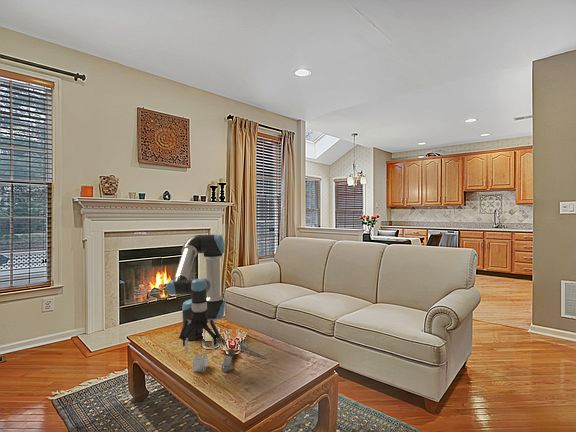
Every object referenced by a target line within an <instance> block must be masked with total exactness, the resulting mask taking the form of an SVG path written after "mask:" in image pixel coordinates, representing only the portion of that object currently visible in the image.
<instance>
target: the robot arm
mask: <svg viewBox="0 0 576 432" xmlns="http://www.w3.org/2000/svg"><path fill="white" fill-rule="evenodd" d="M225 248H226V247H225V241H224V237H223V236H222V234H196V235H193V236H191V237H190V238H189V239H188V240H186V241H185V243H184V244H183V246H182V248H181V257H180V259H179V262H178V265H177V269H176V271H175V274H174V278H173V279H171V280H168V282H167V284H166V292H167V294H168V295H169V296H171V295H173V296H176V295H177V296H179V295H180V296H181V295H191V298H190V299H188V300H187V299H186V300H185V301H184V302H183V303H182V309H181V310H182V312H181V313H182V326H181V330H180V333H179V336H178V337H179V338H178V339H180V340H182V346H183V347H184V354H187V353H188V352H189V344H188V343H189V341H196V340H197V341H198V340H200V339H203V337H202V333H203V329H204V331H206V332H207V334H209V336H211V337H212V340H211V353H213V354H214V352H215V350H216V349H215V347H216V345H217V341H218V340H217V339H220V337H221V334H220V332H219V330H218V328H217V326H216V324H215V321H217V320H222V319H223V318H224V316H225V310H226V300H224V297H223V296H222V295H221V258H222V257H223V254H224V253H225V251H226V249H225ZM198 254H203V257H204V259H206V261H205V262H206V265H205V266H206V267H205V268H206V269H205V270H206V274H205V275H206V278H205V277H203V278H195V279H189V278H190V274H191V271H192V267H193V265H194V261H195V257H197V255H198ZM214 320H215V321H214ZM208 324H209V325H210V326H211V327H209V325H208ZM211 328H212V329H211Z"/></svg>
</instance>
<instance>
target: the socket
mask: <svg viewBox="0 0 576 432" xmlns="http://www.w3.org/2000/svg"><path fill="white" fill-rule="evenodd" d="M193 357H194V358H192V372H193V373H195V372H196V373H197V372H199V373H200V372H201V373H202V372H206V371H207V368H208V367H209V366H208V364H209V363H208V354H195V355H194V356H193Z"/></svg>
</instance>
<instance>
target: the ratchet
mask: <svg viewBox="0 0 576 432" xmlns="http://www.w3.org/2000/svg"><path fill="white" fill-rule="evenodd" d="M235 355H236V349H235V350H230V349H229V350H228V354H227V355H226V356H224V357H223V363H222V364H221V372H222V373H224V374H227V373H229V374H230V373H232V372H233V370H234V364H233V361H234V358H235Z"/></svg>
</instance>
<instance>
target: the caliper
mask: <svg viewBox="0 0 576 432" xmlns="http://www.w3.org/2000/svg"><path fill="white" fill-rule="evenodd" d="M238 342H239V345H240V347H239V350H240V349H241V351H242V350H243V351H244V352H250V353H251V354H254V355H255V356H257V357H259V358H261V359H265V360H267V358H268V357H267V356H266V355H265V354H263V353H260V352H259V351H256V350H255V349H252V348H250V347H249V346H248V345H246V344H244V343H242V341H241V340H238Z"/></svg>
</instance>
